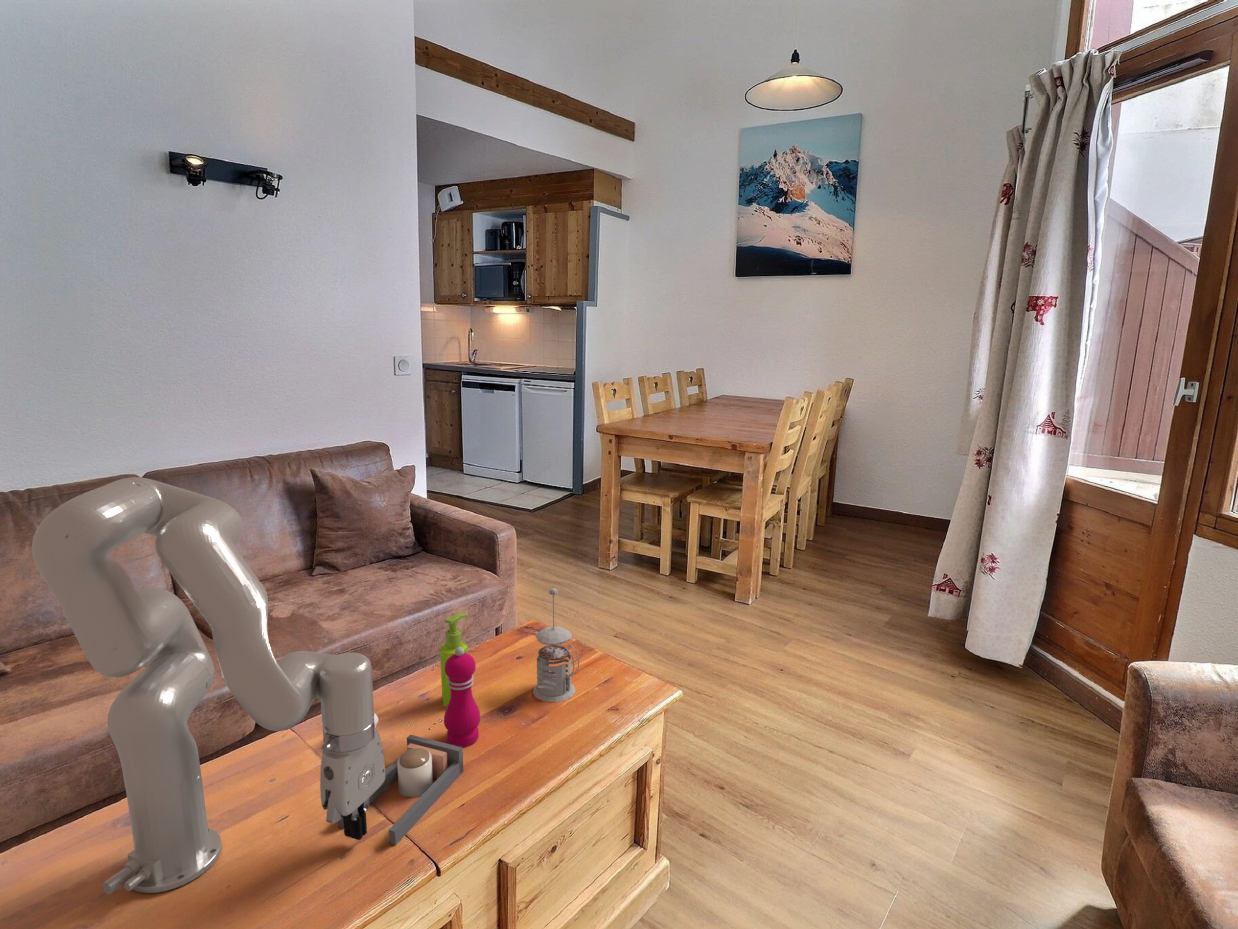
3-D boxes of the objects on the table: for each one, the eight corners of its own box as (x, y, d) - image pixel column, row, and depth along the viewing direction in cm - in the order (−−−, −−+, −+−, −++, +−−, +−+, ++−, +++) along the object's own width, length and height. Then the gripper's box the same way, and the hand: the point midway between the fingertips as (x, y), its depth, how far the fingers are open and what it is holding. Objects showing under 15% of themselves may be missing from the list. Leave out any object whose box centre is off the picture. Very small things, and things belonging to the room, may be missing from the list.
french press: (552, 675, 165) (551, 577, 160) (590, 690, 159) (590, 588, 154) (523, 692, 158) (521, 590, 152) (562, 709, 151) (562, 602, 146)
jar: (420, 800, 122) (418, 770, 121) (391, 792, 124) (390, 763, 123) (439, 779, 128) (438, 750, 126) (412, 772, 129) (410, 744, 128)
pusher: (444, 780, 127) (443, 756, 126) (407, 770, 130) (406, 746, 129) (447, 776, 128) (446, 752, 127) (411, 766, 131) (410, 743, 130)
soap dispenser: (478, 697, 155) (475, 614, 151) (455, 711, 150) (452, 625, 146) (459, 689, 159) (456, 608, 154) (436, 703, 153) (432, 619, 149)
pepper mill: (472, 751, 136) (469, 658, 132) (438, 746, 137) (434, 654, 133) (486, 730, 143) (483, 641, 139) (454, 726, 144) (450, 637, 140)
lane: (395, 845, 111) (394, 818, 110) (338, 827, 115) (335, 800, 114) (463, 771, 130) (462, 747, 129) (411, 757, 134) (410, 734, 133)
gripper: (334, 766, 99) (341, 875, 103) (399, 713, 113) (404, 810, 117) (293, 754, 102) (302, 861, 106) (362, 703, 116) (367, 800, 119)
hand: (355, 834), depth 111 cm, fingers closed
